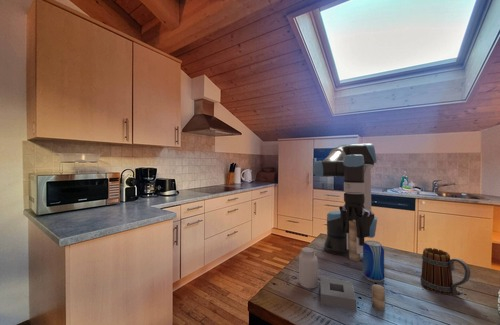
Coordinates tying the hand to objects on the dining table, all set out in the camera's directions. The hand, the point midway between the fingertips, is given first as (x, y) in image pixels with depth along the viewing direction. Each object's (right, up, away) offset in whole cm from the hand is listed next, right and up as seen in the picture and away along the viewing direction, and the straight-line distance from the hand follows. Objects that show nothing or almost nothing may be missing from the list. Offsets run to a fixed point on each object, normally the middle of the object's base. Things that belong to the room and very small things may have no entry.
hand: (354, 250), depth 84 cm
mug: (+37, -17, +1) cm, 41 cm away
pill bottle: (-17, -18, +7) cm, 25 cm away
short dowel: (+5, -17, -8) cm, 19 cm away
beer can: (+14, -17, +11) cm, 25 cm away
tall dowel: (0, -3, 0) cm, 3 cm away
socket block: (-8, -17, -3) cm, 19 cm away
